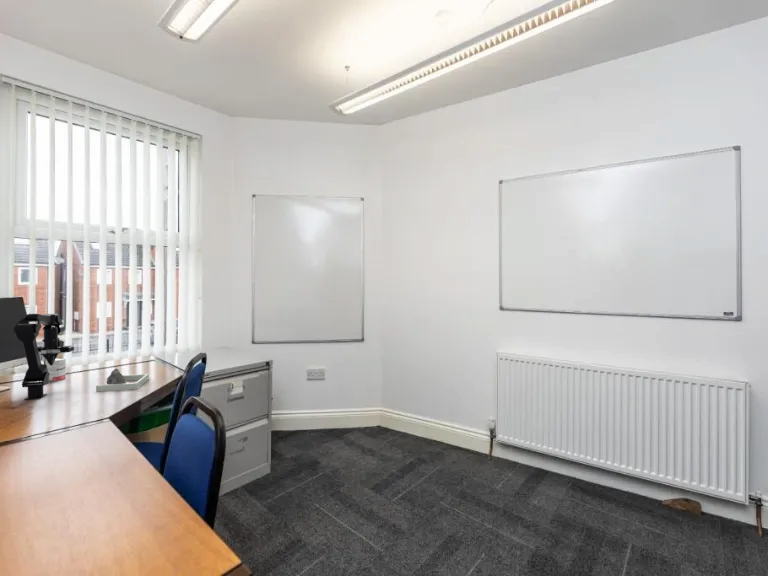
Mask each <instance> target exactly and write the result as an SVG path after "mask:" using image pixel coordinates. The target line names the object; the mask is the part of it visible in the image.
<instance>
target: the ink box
mask: <svg viewBox="0 0 768 576" xmlns="http://www.w3.org/2000/svg"><path fill="white" fill-rule="evenodd" d="M45 364H46V365H47V369H48V372H49V380H48V381H54V382H57V381H58V382H59V381H63V380H65V379H67V377H66V374H67V373H66V368H67V367H66V365H67V364H66V358H63V359H55V361H54V364H53V365H51V366H50V365H49V363H48V362H47V360H45Z"/></svg>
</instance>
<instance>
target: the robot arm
mask: <svg viewBox="0 0 768 576" xmlns="http://www.w3.org/2000/svg"><path fill="white" fill-rule="evenodd" d="M42 325H43V327H42ZM41 328H42V330H43V339H42V340H41V341H42V343H43V346H38V343H37V338H38V336H39V335H40V331H41ZM65 330H66V327H65V326H64V323H63V321H62V318H61V315H60V314H59V313H43V314H41V313H28V314H26V315H25V317H23V318H22V319H20V320H19V321H18V320H17V322H16V324H15V326H14V327H13V334H14V335H15V337H16V339H17V340H18V341H20V342H21V343H22V345H23V349H24V355H25V357H26V362H27V367H28V368H27V370H26V372H25V374H24V377H23V380H22V381H21V387H22V388H27V397H24V400H25V401H27V400H39V399H42V398H44V397H46V396H48V393H44V387H45V386H46V385H47V384H49V381H50V380H49V372H48V369H47V365H46V364H44V363H42V360H41V356H42V357H43V359H44V358H45V359H46V360H47V362H48V363H49V365H50V366H51V365H53V364H54V361H55V359H56V357H57V355H58V354H59V353H61V352H62V353H63V354H64V353H70V352H74V351H75V347H74V346H73V345H65V340H64V341H63V340H61V339H60V337H59V335H60V334H63V333H64V332H65ZM58 347H61V348H58ZM54 349H55V350H54ZM50 351H52V352H50Z"/></svg>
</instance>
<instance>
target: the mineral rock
mask: <svg viewBox="0 0 768 576" xmlns="http://www.w3.org/2000/svg"><path fill="white" fill-rule="evenodd" d="M109 384H126V381H125V379H124V376H123V374H122V372H120V370H119V369H118V368H117V367H116V368H115V369H113V370H112V371H111V372H110V374H109V375H108V377H107V378H106V385H109Z"/></svg>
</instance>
